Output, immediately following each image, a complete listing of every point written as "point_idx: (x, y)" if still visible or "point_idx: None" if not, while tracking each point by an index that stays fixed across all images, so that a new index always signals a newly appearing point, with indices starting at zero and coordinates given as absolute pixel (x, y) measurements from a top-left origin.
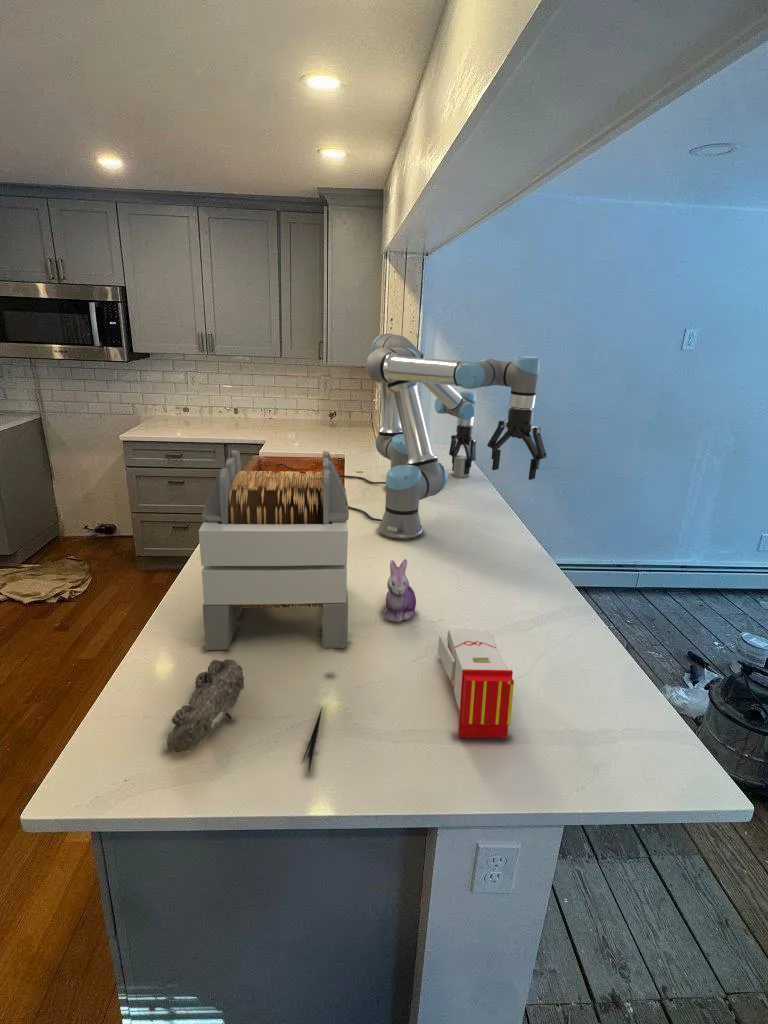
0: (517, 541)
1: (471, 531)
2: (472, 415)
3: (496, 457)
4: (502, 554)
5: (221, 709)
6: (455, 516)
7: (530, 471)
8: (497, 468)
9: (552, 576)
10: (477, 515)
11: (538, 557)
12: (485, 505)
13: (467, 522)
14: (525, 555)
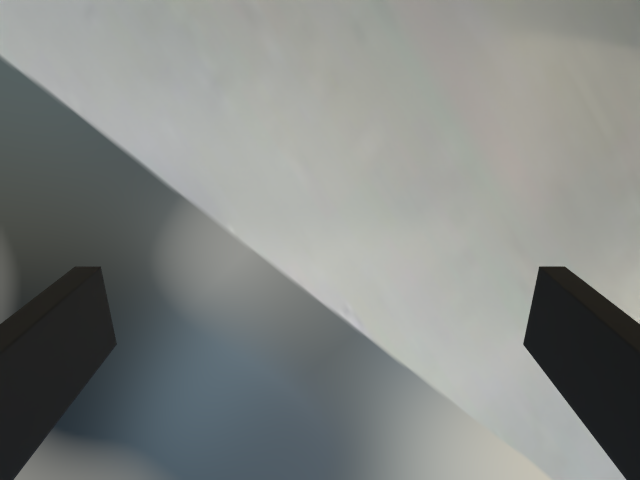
0: (326, 255)
1: (500, 206)
2: None
3: (635, 382)
4: (293, 107)
5: None
6: (624, 283)
7: (29, 314)
8: (531, 330)
9: (59, 79)
10: None
11: (194, 189)
12: (580, 439)
13: None
14: (233, 168)
